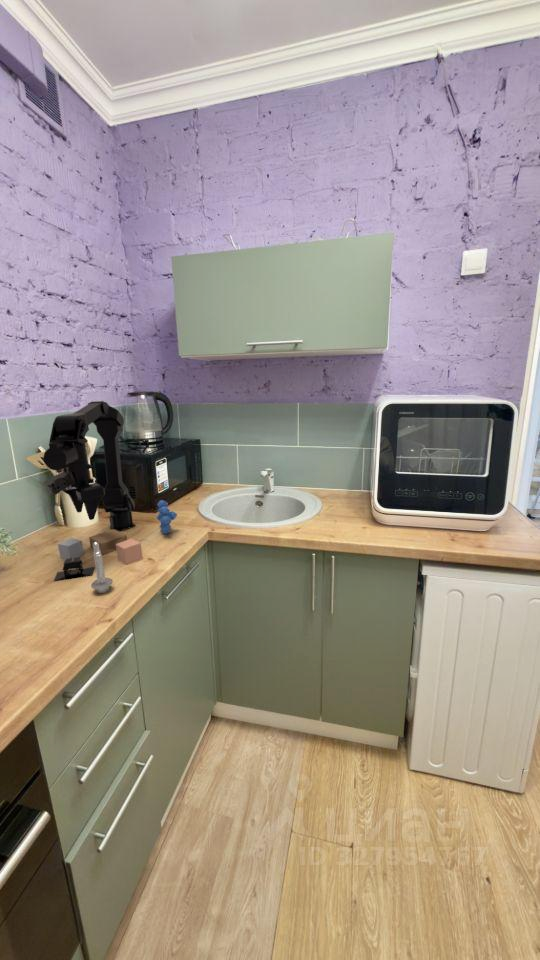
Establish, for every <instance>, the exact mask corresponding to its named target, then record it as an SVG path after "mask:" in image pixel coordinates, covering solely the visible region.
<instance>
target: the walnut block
mask: <svg viewBox="0 0 540 960" xmlns="http://www.w3.org/2000/svg"><path fill="white" fill-rule="evenodd" d="M88 539H89V545H90V549H91V550H93V551H94V549H93V543H94V542H97V543H99V549H100V550H101V555H102V556H106V555H108V554H110V553H113V552H117V550H116V544H117V543H120V542H123V541H126V540H128V536H127V534H125V533H123V532H121V531H117V530H115V529H113V528H112V529H110V530H107V531H103V532H101V533H98V534H95V535H91V536H89V537H88Z"/></svg>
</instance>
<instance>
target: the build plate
mask: <svg viewBox="0 0 540 960" xmlns="http://www.w3.org/2000/svg"><path fill="white" fill-rule="evenodd" d="M83 565H84V562H83V559H81V556H79V557H77V558H74V559H72V558H70V559H65V560H64V562H63V567H62V571H57V572H56V574H55V577H54V580H53V583H54V582H60V581H66V580H67V581H68V580H73V579H79V578H86V577H92V576H93V574H94V572H95V571H96V570H95V569H96V568H95V567H96V565H94V566H88V567H84V566H83Z"/></svg>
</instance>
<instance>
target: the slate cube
mask: <svg viewBox="0 0 540 960" xmlns="http://www.w3.org/2000/svg"><path fill="white" fill-rule="evenodd" d="M57 548H58V552H59V557H60V558H61V559H65V560H66V559H70V558H72V560H73V559H74V558H77V557H81V556H83V555H84V547H83V541H82V540H81V539H77V538H73V537H70V538H68V539H66V540H63V541H62V542H58V543H57Z"/></svg>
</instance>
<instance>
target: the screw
mask: <svg viewBox="0 0 540 960" xmlns="http://www.w3.org/2000/svg"><path fill="white" fill-rule="evenodd" d="M93 549H94V550H93ZM93 549H92V550H93V553H92V554H93V559H94V560H93V562H94V566H96V567H95V570H94V571H95V573H96V579H95V580H94V581H92V582H91V585H90V586H91V589H94V590H96V592H97V593H98V594H106V593H107V592H108V591H110V586H111V585H113V583H114V581H113V579H112V578H111V577H106V575H105V567H104V561H103V557H102V556H103V555H102V554H101V550H100V549H99V543H97V542H94V543H93Z"/></svg>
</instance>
